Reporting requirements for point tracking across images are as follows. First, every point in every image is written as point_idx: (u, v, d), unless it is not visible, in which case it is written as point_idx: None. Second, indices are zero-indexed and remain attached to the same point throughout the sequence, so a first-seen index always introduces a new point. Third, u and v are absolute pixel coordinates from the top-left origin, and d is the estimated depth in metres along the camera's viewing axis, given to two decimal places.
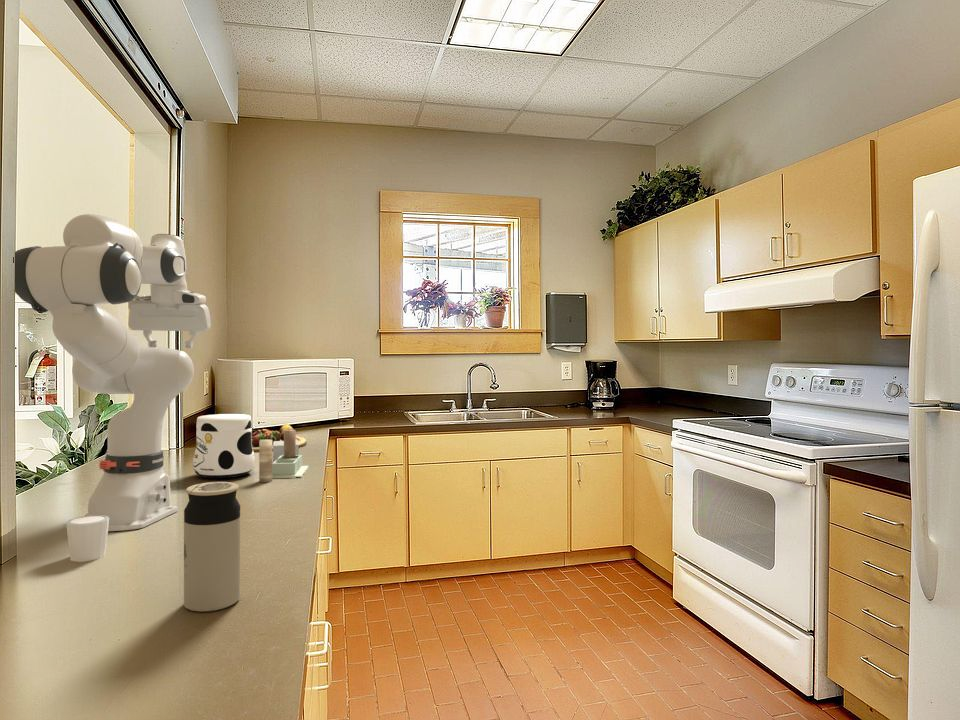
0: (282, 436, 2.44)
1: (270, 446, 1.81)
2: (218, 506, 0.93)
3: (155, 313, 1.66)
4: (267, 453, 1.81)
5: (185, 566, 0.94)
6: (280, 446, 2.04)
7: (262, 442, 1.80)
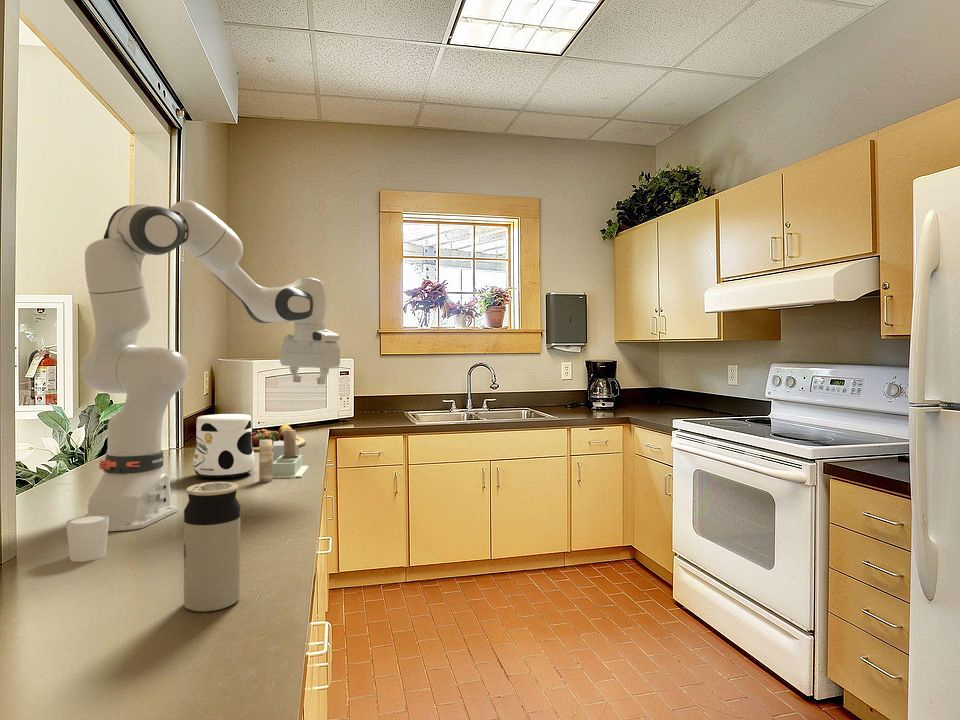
0: (281, 436, 2.44)
1: (270, 446, 1.81)
2: (218, 506, 0.93)
3: (297, 350, 1.79)
4: (267, 453, 1.81)
5: (185, 566, 0.94)
6: (280, 446, 2.04)
7: (262, 442, 1.80)
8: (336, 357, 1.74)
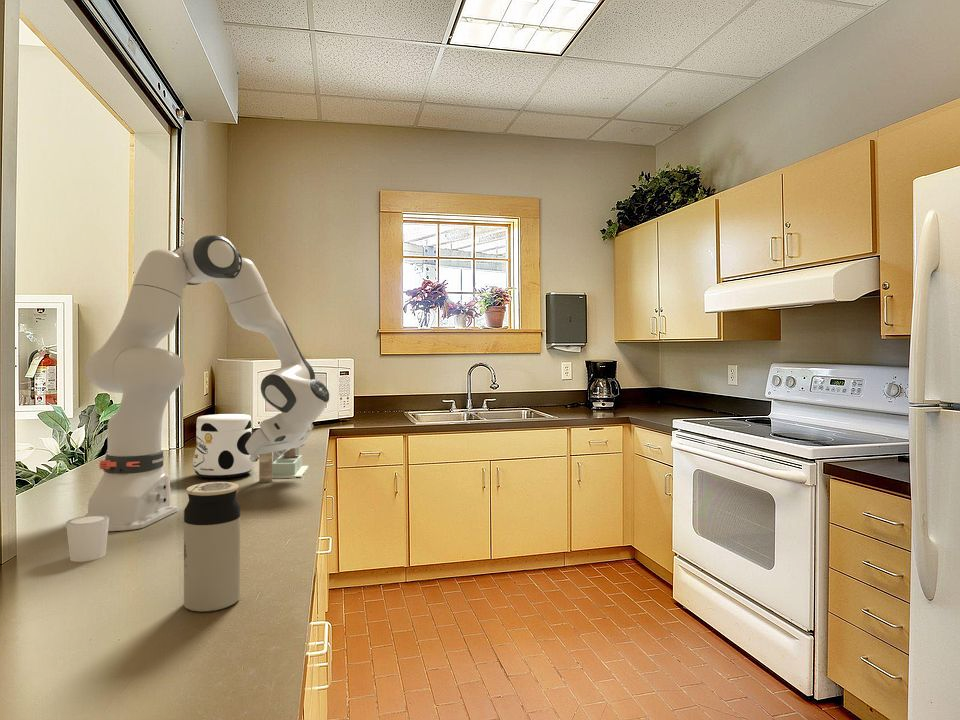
0: None
1: None
2: (218, 506, 0.93)
3: None
4: (267, 453, 1.81)
5: (185, 566, 0.94)
6: None
7: None
8: (252, 445, 1.71)
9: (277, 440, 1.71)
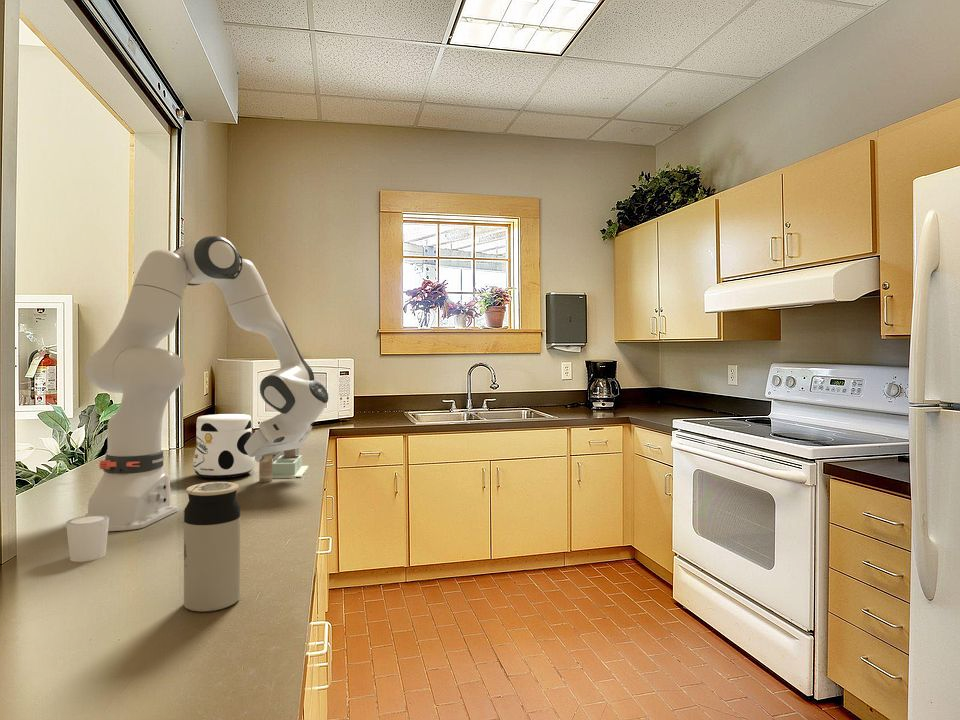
0: None
1: None
2: (219, 506, 0.93)
3: None
4: None
5: (185, 566, 0.94)
6: None
7: None
8: (251, 446, 1.71)
9: (276, 441, 1.72)
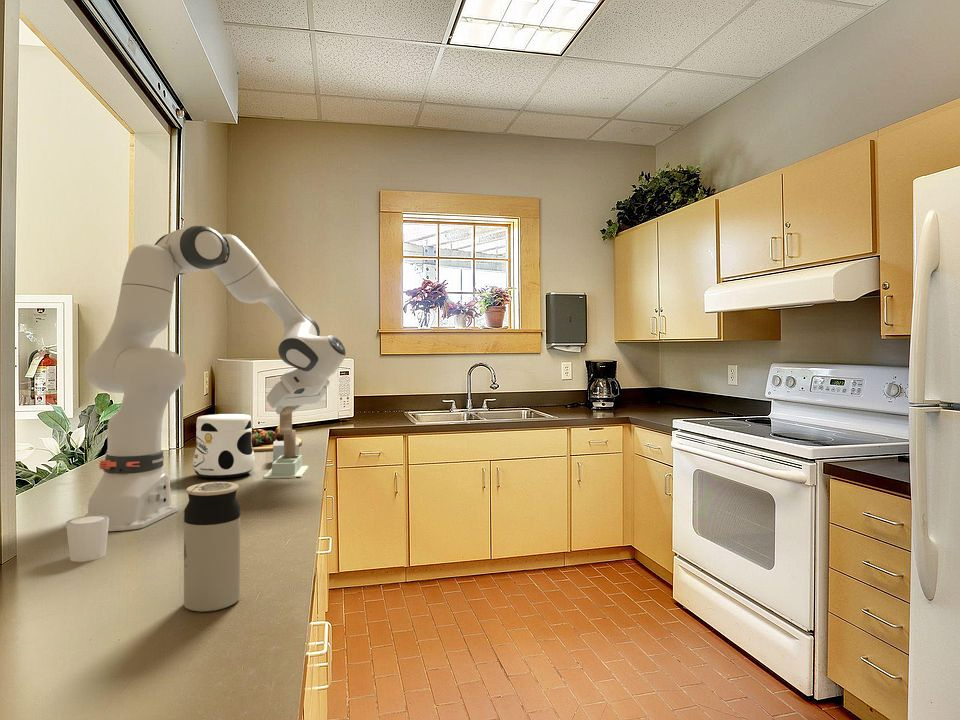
0: (278, 436, 2.44)
1: None
2: (218, 506, 0.93)
3: None
4: (287, 406, 1.90)
5: (185, 566, 0.94)
6: (280, 446, 2.04)
7: None
8: (273, 397, 1.80)
9: (297, 392, 1.81)
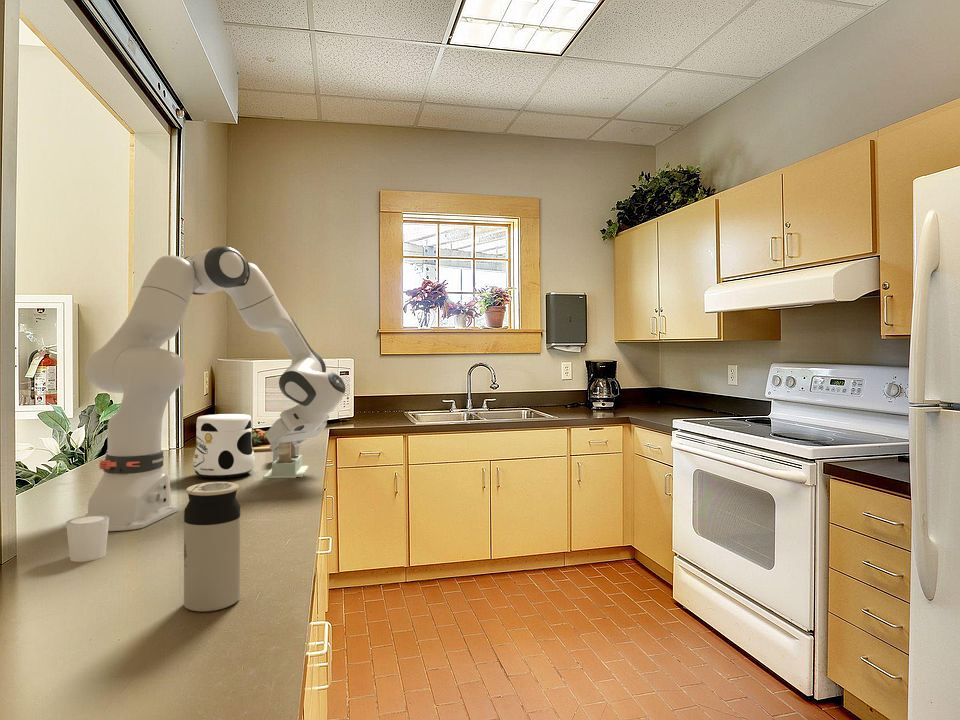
0: None
1: None
2: (219, 506, 0.93)
3: None
4: (286, 445, 1.90)
5: (185, 566, 0.94)
6: None
7: None
8: (273, 435, 1.80)
9: (296, 429, 1.81)
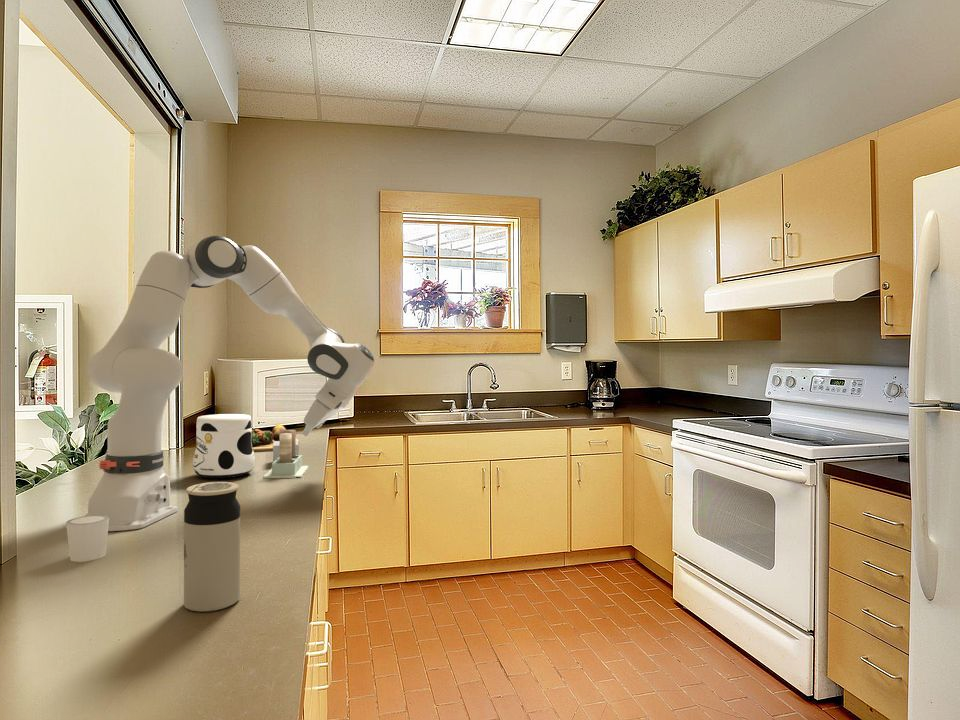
0: (275, 436, 2.44)
1: (290, 439, 1.91)
2: (219, 506, 0.93)
3: None
4: (287, 446, 1.90)
5: (185, 566, 0.94)
6: None
7: (283, 435, 1.90)
8: (313, 418, 1.74)
9: (336, 407, 1.76)
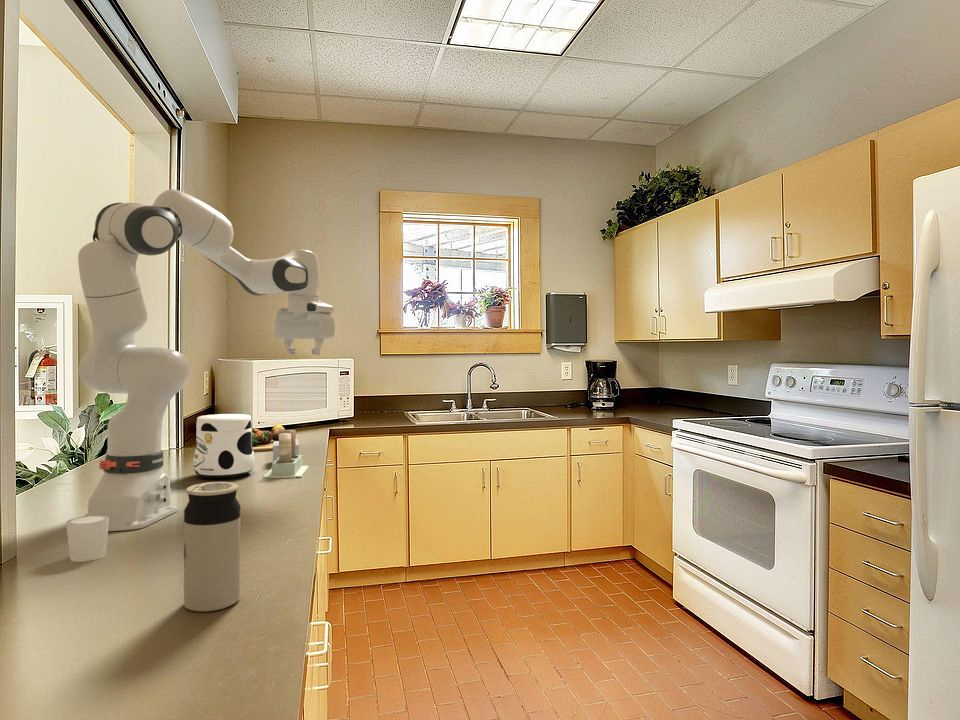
0: (274, 436, 2.44)
1: (289, 439, 1.91)
2: (219, 506, 0.93)
3: (291, 322, 1.80)
4: (286, 446, 1.90)
5: (185, 566, 0.94)
6: None
7: (282, 435, 1.90)
8: (331, 328, 1.76)
9: None
